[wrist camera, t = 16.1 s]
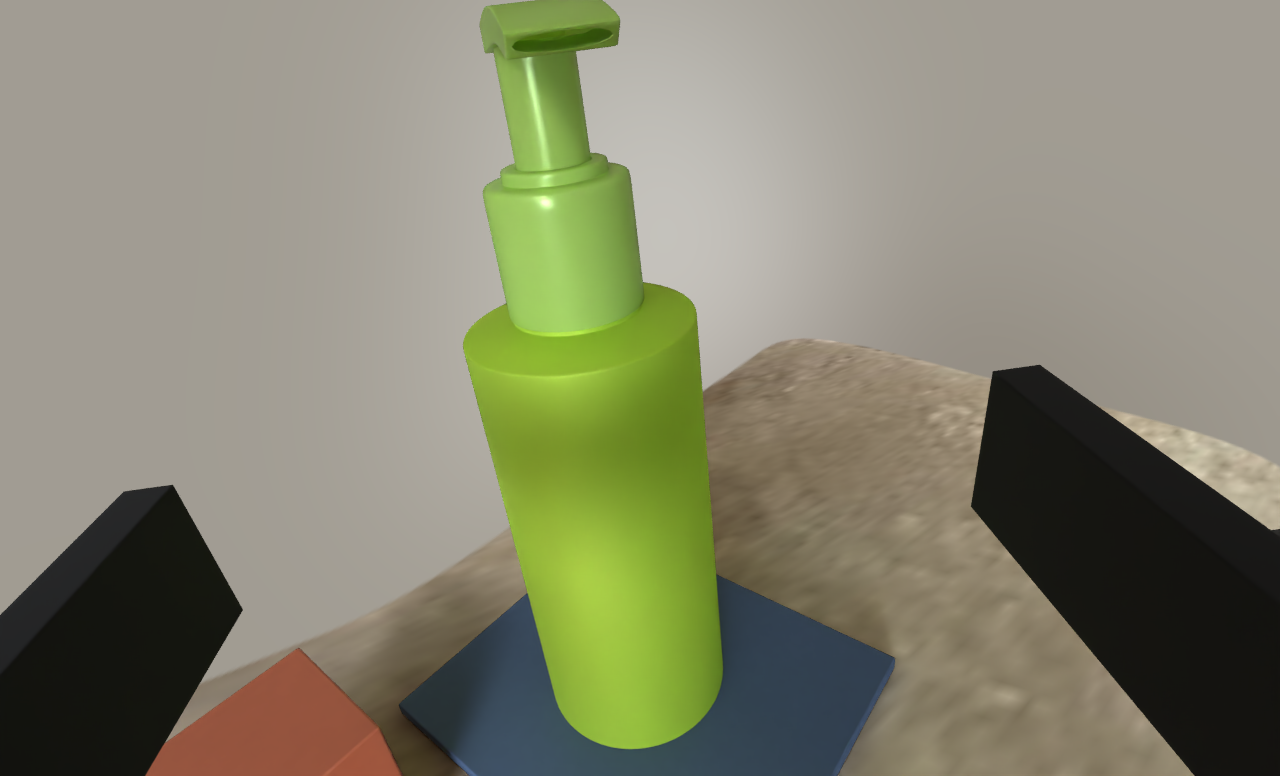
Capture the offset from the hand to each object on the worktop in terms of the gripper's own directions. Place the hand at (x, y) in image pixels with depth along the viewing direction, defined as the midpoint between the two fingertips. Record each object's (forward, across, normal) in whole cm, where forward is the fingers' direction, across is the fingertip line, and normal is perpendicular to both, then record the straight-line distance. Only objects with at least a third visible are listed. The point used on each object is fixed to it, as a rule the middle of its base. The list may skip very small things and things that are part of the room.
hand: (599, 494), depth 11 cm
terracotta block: (+2, -10, -13) cm, 16 cm away
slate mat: (+6, 0, -13) cm, 15 cm away
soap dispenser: (+6, 0, -13) cm, 14 cm away
